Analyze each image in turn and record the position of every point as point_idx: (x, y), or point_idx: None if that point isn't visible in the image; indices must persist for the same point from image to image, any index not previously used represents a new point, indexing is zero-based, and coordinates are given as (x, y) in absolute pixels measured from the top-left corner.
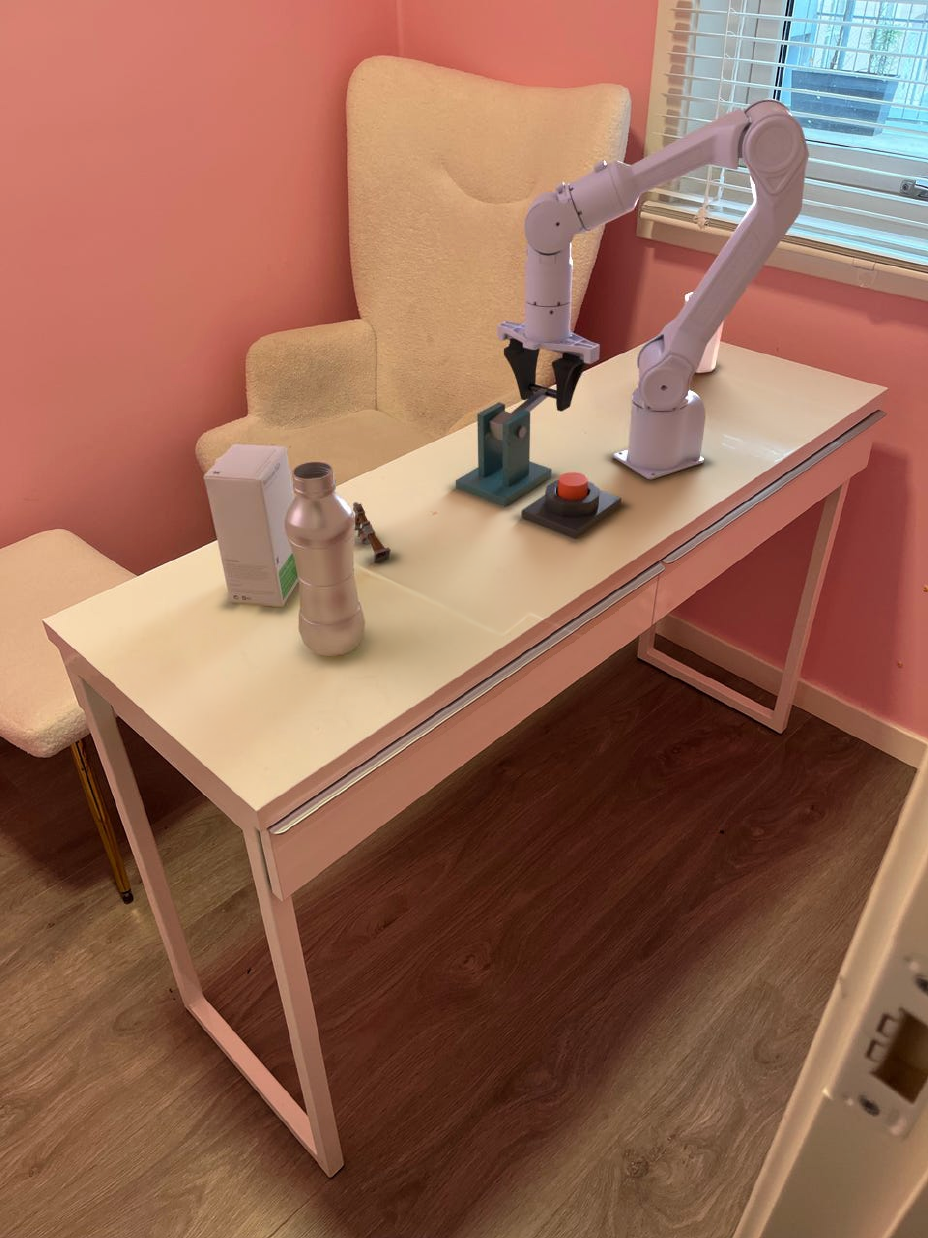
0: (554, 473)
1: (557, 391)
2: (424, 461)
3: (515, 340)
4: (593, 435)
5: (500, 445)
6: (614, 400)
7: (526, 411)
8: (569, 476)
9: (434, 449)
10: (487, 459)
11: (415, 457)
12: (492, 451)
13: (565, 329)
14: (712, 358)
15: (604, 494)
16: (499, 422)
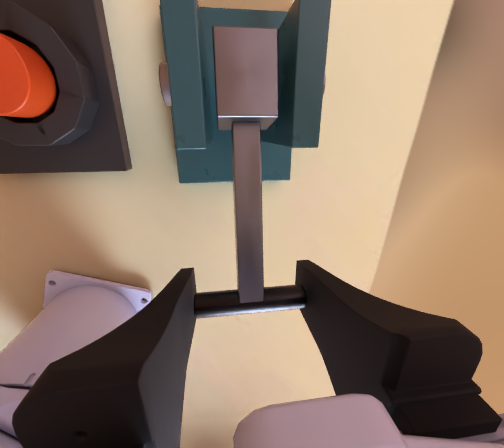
0: (187, 194)
1: (175, 295)
2: (401, 81)
3: (469, 426)
4: (223, 320)
5: None
6: (264, 398)
7: (190, 143)
8: (3, 78)
9: (406, 133)
10: None
11: (423, 84)
12: None
13: None
14: None
15: (28, 163)
16: (239, 40)
